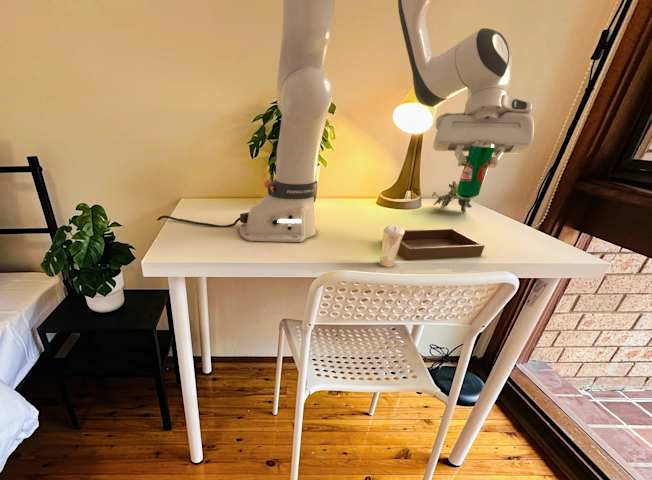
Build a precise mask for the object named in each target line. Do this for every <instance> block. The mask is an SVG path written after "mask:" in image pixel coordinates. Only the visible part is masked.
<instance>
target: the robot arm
mask: <svg viewBox="0 0 652 480" xmlns="http://www.w3.org/2000/svg"><path fill="white" fill-rule="evenodd" d="M335 3H336V0H283V11H282V29H281V30H282V33H281V43H280V51H279V61H278V73H277V82H276V83H277V85H276V105H277V108H278V110H279V111H280V113H281V119H280V129H279V136H278V141H277V147H276V163H275V179H274V180H272V181H271V180H270V179H266V180H265V181H264V184H263V185H264V187H265V188H266V189H267V195H266V196H264V197H263V198H262V199H260V200H259V201H258V202H256V203H255V204H254V205H253V206H251V207H250V209H249V211H248V212H243V213H239V217H237V219H236V220H234V222H233V223H230V224H225V225H224V224H223V225H220V224H213V223H210V222H209V223H208V222H202V221H201V222H200V221H194V220H189V219H183V218H177V217H174V216H170V215H161V216H159V217H158V218H157V219H156V221H160V220H162V219H168V220H169V219H170V220H173V221H175V222H181V223H182V222H183V223H189V224H193V225H198V226H199V225H200V226H206V227H213V228H232V227H234V226H236V225H237V224H238V223H239V222H240V223H242V224H241V225H239V234H240V236H241V237H242V238H243V239H244V240H246V241H248V242H275V243H278V242H279V243H280V242H281V243H303V242H304V241H305V240H306V239H309V238H311V237H313V236H315V235H317V228H316V221H315V202H316V199H317V194H318V180H317V176H318V175H317V174H318V166H319V156H320V148H321V144H322V140H323V135H324V131H325V129H326V123H327V119H328V113H329V109H330V107H331V104H332V100H333V87H332V83H331V81H330V79H329V78H328V76H327V74H325V72H324V65H325V61H326V56H327V51H328V47H329V43H330V39H331V37H332V31H333V22H334V21H333V20H334V11H335ZM430 3H432V0H397V7H398V9H397V10H398V14H399V21H400V26H401V30H402V35H403V40H404V42H405V48H406V51H407V56H408V60H409V64H410V68H411V73H412V82H413V90H414V94H415V95H414V96H415V98H416V100H417V102H418V103H420V104H421V105H423V106H426V107H430V108H436V107H438V106H440V105H441V104H443V103H445V102H446V101H448V100H450V99H451V97H454V96H456V95H457V94H459V93H461V92H463V91H465V90H467V99H466V101H465V105H464V111H463V112H445V113H443V114H441V115H439V116H438V117H437V118H436V119H435V128H436V130H437V131H436V133H435V136H434V139H433V144H432V149H434V150H435V151H436V152H454V156H455V158H456V160H457V161H458V162H457V167H464V166H465V164H466V163H467V155H465V154H464V153H468V152H469V148H470V146H471V145H472V144H473V142H474V140H491V141H495V150H494V153H493V154H494V156H492V158H491V161H490V164H489V167H488V169H495V168H496V167H497V165H498V162H499V159H500V158H501V157H502V155H503V154H514V155H515V154H518V155H522V154H523V153H525V152H526V151H528V150H529V148H530V147H531V145H532V143H533V141H534V137H535V121H534V118H533V116H532V115H531V112H532V109H533V103H532V102H530V101H526V100H522V99H519V98H516V97H513V96H511V95H510V93H509V89H510V88H511V84H512V78H513V56H512V52H511V49H510V47H509V45H508V41H507V40H506V38H505V36H504V35H503V34H502V33H501V32H499V31H497V30H495V29H492V28H488V27H487V28H485V27H484V28H480V29H479V30H477V31H475V32H474V33H472V34H470V35H469V36H468V37H465V38H464V39H463V40H461V41H459V42H458V43H457V44H455V45H453V46H452V47H450V48H449V49H448V50H446V51H444V52H442V53H441V54H440V55H438V56H435V55H434V54H433V50H432V45H431V41H430V37H429V32H428V31H429V30H428V27H427V20H426V19H427V11H428V9H429V6H430Z"/></svg>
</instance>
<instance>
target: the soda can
mask: <svg viewBox="0 0 652 480" xmlns="http://www.w3.org/2000/svg"><path fill="white" fill-rule="evenodd" d="M494 150H495V141H491V140H474V142H473V144H472V145H471V146H470V148H469V152H467V155H466V156H467V163H466V164H465V166H463V167H462V172H461V175H460V178H459V180H458V187H457V190H456V194H457V196H459V197H463V198H470V199H475V198H477V197H478V196H479V195H480V193H481V190H482V188H483V184H484V182H485V179H486V176H487V172H488V170H489V168H488V167H489V164H490V161H491V158H492V157H494V154H495V153H494Z"/></svg>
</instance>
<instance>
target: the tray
mask: <svg viewBox="0 0 652 480" xmlns="http://www.w3.org/2000/svg"><path fill="white" fill-rule="evenodd" d="M404 231H405V233H404V236H403V239H402V241H401V244H400V247H399V249H398V252H397V255H399V256H400V257H402V258H403V259H404V260H405V261H418V260H441V259H461V258H479V257H482V254H483V251H484V249H485V246H486V245H485V244H482V243H481V242H479V241H477V240H475V239H473V238H471V237H470V236H468V235H466V234H464V233H462V232H461V231H458V230H457V229H455V228H453V227H450V228H431V229H430V228H428V229H404Z"/></svg>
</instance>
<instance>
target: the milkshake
mask: <svg viewBox="0 0 652 480" xmlns="http://www.w3.org/2000/svg"><path fill="white" fill-rule="evenodd" d="M404 230H405V229H404V228H403V227H401V226H400V225H388V226H386V227H385V228H383V232H382V241H381V251H380V256H379V263H378V264H379V265H380V266H381V267H385V268H391V267H393V266H394V264H395V261H396V258H397V255H398V253H397V252H398V249H399V247H400V244H401V241H402V239H403V236H404V233H405V231H404Z"/></svg>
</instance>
